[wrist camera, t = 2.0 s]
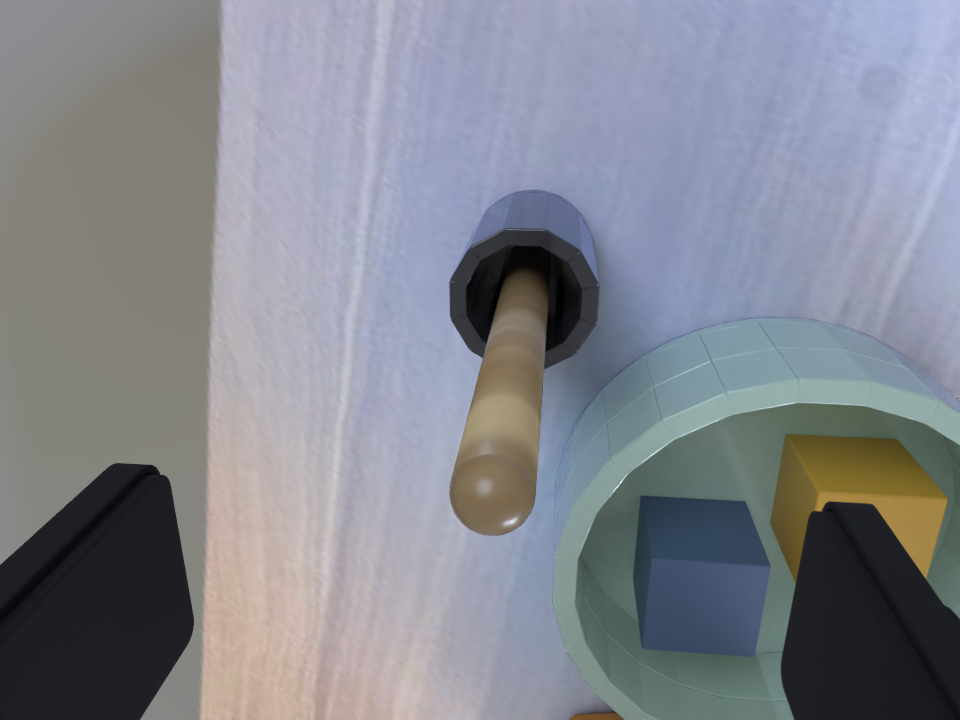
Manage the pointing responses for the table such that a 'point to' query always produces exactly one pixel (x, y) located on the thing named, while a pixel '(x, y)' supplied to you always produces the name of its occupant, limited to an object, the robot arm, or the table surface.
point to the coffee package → (597, 716)
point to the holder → (571, 272)
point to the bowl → (725, 491)
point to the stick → (506, 405)
